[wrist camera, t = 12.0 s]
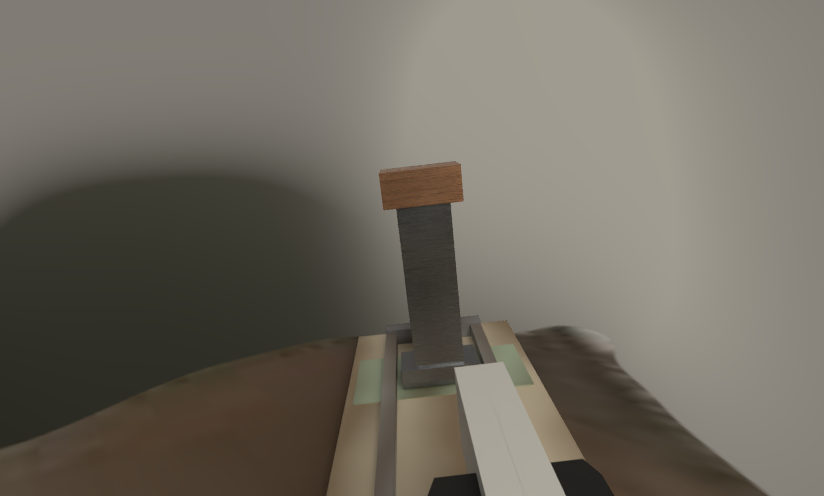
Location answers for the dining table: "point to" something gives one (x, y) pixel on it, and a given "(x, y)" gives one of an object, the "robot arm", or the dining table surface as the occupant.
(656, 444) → the dining table surface
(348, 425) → the fader console
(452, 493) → the robot arm
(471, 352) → the fader lever
